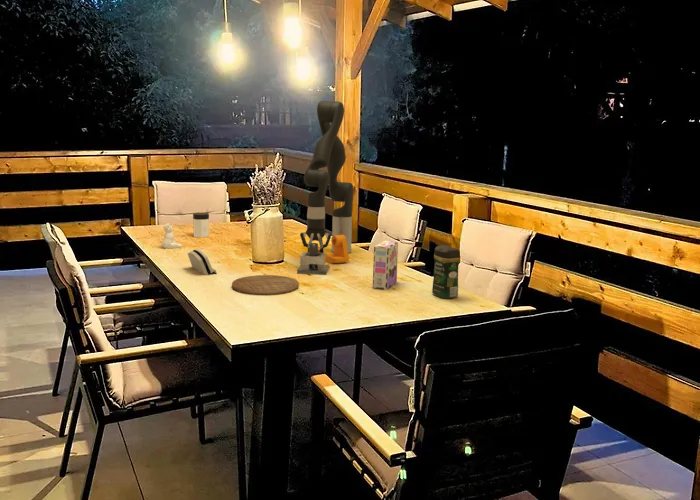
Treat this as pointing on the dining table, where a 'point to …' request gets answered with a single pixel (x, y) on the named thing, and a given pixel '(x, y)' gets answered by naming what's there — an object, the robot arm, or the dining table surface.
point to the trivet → (265, 285)
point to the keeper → (313, 267)
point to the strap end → (313, 258)
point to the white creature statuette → (169, 238)
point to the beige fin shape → (200, 262)
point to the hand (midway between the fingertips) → (315, 256)
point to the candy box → (385, 264)
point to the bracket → (338, 250)
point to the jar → (201, 224)
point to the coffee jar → (446, 271)
